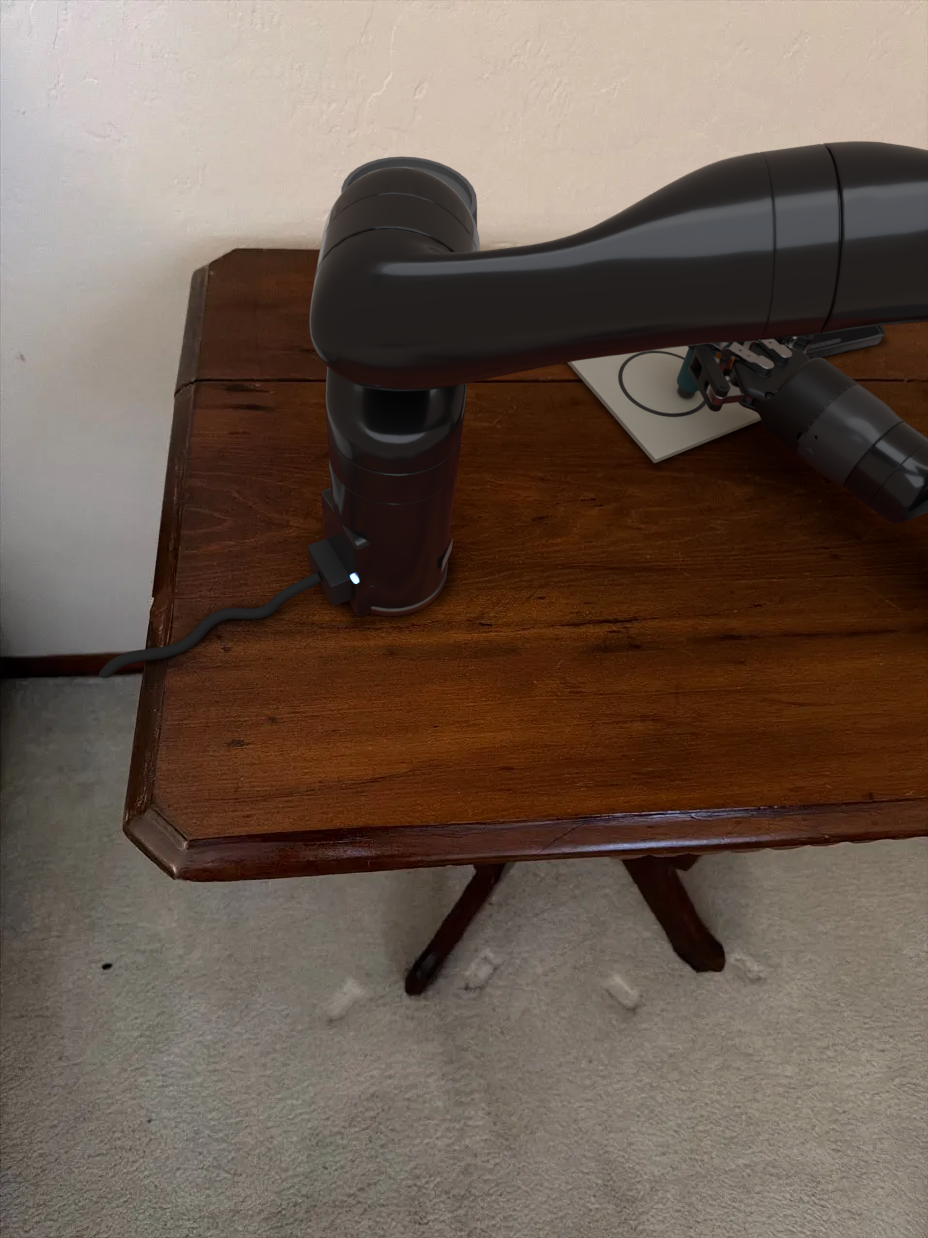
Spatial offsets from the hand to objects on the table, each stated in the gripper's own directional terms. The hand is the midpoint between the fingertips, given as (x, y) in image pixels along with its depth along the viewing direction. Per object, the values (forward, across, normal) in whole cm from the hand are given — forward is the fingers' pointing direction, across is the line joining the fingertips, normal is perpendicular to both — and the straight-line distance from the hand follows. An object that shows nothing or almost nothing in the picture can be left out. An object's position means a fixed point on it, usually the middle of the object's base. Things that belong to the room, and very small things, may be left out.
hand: (686, 313), depth 83 cm
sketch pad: (-1, 0, +8) cm, 9 cm away
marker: (-3, 0, +8) cm, 8 cm away
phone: (-4, -19, +8) cm, 21 cm away
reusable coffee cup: (+21, +17, +9) cm, 28 cm away
